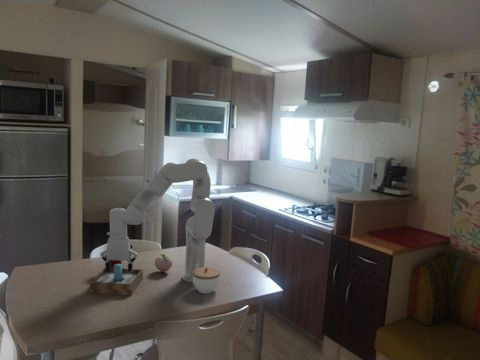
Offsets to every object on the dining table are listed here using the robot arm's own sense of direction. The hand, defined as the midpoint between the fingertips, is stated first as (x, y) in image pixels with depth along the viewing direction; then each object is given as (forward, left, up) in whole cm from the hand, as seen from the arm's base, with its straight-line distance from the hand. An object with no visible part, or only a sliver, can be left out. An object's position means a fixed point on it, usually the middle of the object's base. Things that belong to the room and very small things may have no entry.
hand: (119, 270), depth 180 cm
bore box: (+1, 0, -7) cm, 7 cm away
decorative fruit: (-16, -19, -8) cm, 26 cm away
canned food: (+8, -14, -8) cm, 18 cm away
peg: (+1, 0, -7) cm, 7 cm away
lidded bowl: (-40, 0, -8) cm, 41 cm away
